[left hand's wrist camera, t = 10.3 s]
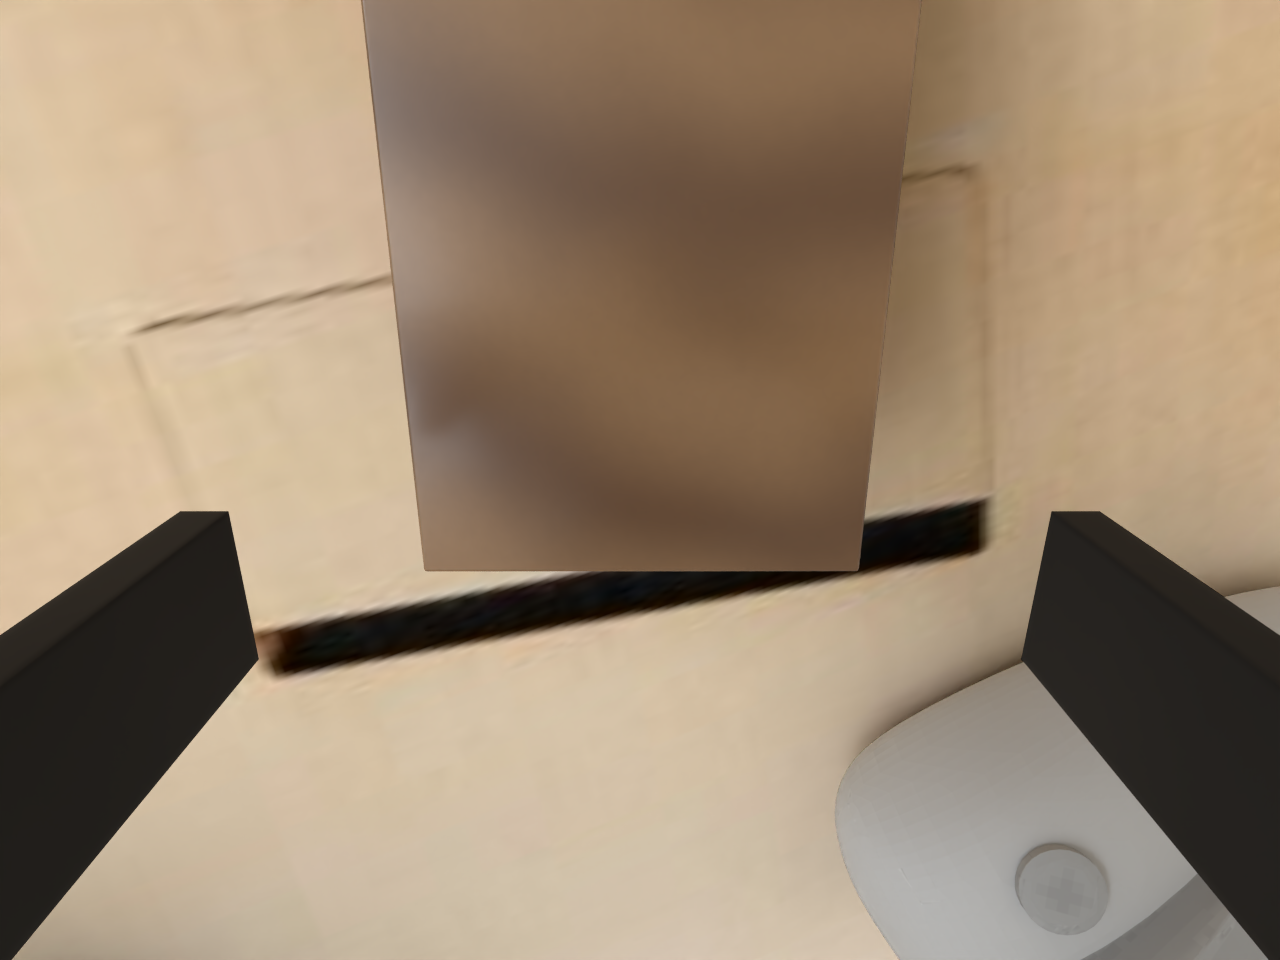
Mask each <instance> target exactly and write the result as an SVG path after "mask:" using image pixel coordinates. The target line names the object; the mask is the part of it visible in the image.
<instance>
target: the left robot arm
mask: <svg viewBox="0 0 1280 960" xmlns="http://www.w3.org/2000/svg"><path fill="white" fill-rule="evenodd" d="M258 659H259V658H258V653H257V648H256V644H255V639H254V634H253V629H252V624H251V619H250V614H249V610H248V605H247V600H246V595H245V590H244V585H243V580H242V575H241V571H240V566H239V561H238V556H237V551H236V546H235V541H234V537H233V532H232V527H231V522H230V517H229V512H228V511H180V512H179V513H177V514H176V515H174V516H173V517H172V518H170V519H169V520H167V521H166V522H164V523H163V524H161V525H160V526H158V527H157V528H156V529H154V530H153V531H151V532H150V533H148V534H147V535H145V536H144V537H142V538H141V539H140V540H138V541H137V542H135V543H134V544H132V545H131V546H129V547H128V548H126V549H125V550H123V551H122V552H121V553H119V554H118V555H116V556H115V557H113V558H112V559H110V560H109V561H107V562H106V563H105V564H103V565H102V566H100V567H99V568H97V569H96V570H94V571H93V572H91V573H90V574H89V575H87V576H86V577H84V578H83V579H81V580H80V581H78V582H77V583H75V584H74V585H73V586H71V587H70V588H68V589H67V590H65V591H64V592H62V593H61V594H59V595H58V596H57V597H55V598H54V599H52V600H51V601H49V602H48V603H46V604H45V605H43V606H42V607H41V608H39V609H38V610H36V611H35V612H33V613H32V614H30V615H29V616H27V617H26V618H25V619H23V620H22V621H20V622H19V623H17V624H16V625H14V626H13V627H11V628H10V629H9V630H7V631H6V632H4V633H3V634H1V635H0V960H12V959H13V957H14V956H15V955H16V954H17V952H18V951H19V950H20V949H21V948H22V946H23V945H24V944H25V943H26V942H27V940H28V939H29V938H30V937H31V935H32V934H33V933H34V932H35V931H36V929H37V928H38V927H39V926H40V925H41V923H42V922H43V921H44V920H45V918H46V917H47V916H48V915H49V914H50V912H51V911H52V910H53V909H54V907H55V906H56V905H57V904H58V903H59V901H60V900H61V899H62V898H63V897H64V895H65V894H66V893H67V892H68V890H69V889H70V888H71V887H72V886H73V884H74V883H75V882H76V881H77V880H78V878H79V877H80V876H81V875H82V873H83V872H84V871H85V870H86V869H87V867H88V866H89V865H90V864H91V862H92V861H93V860H94V859H95V858H96V856H97V855H98V854H99V853H100V852H101V850H102V849H103V848H104V847H105V845H106V844H107V843H108V842H109V841H110V839H111V838H112V837H113V836H114V835H115V833H116V832H117V831H118V830H119V828H120V827H121V826H122V825H123V824H124V822H125V821H126V820H127V819H128V818H129V816H130V815H131V814H132V813H133V811H134V810H135V809H136V808H137V807H138V805H139V804H140V803H141V802H142V800H143V799H144V798H145V797H146V796H147V794H148V793H149V792H150V791H151V790H152V788H153V787H154V786H155V785H156V783H157V782H158V781H159V780H160V779H161V777H162V776H163V775H164V774H165V773H166V771H167V770H168V769H169V768H170V766H171V765H172V764H173V763H174V762H175V760H176V759H177V758H178V757H179V755H180V754H181V753H182V752H183V751H184V749H185V748H186V747H187V746H188V745H189V743H190V742H191V741H192V740H193V738H194V737H195V736H196V735H197V734H198V732H199V731H200V730H201V729H202V728H203V726H204V725H205V724H206V723H207V721H208V720H209V719H210V718H211V717H212V715H213V714H214V713H215V712H216V710H217V709H218V708H219V707H220V706H221V704H222V703H223V702H224V701H225V700H226V698H227V697H228V696H229V695H230V693H231V692H232V691H233V690H234V689H235V687H236V686H237V685H238V684H239V683H240V681H241V680H242V679H243V678H244V676H245V675H246V674H247V673H248V672H249V670H250V669H251V668H252V667H253V666H254V664H255V663H256V662H257V661H258ZM1021 659H1022V661H1023V662H1024V663H1025V664H1026V666H1027V667H1028V668H1029V669H1030V670H1031V672H1032V673H1033V674H1034V675H1035V676H1036V678H1037V679H1038V680H1039V681H1040V683H1041V684H1042V685H1043V686H1044V687H1045V689H1046V690H1047V691H1048V692H1049V693H1050V695H1051V696H1052V697H1053V698H1054V700H1055V701H1056V702H1057V703H1058V704H1059V706H1060V707H1061V708H1062V709H1063V710H1064V712H1065V713H1066V714H1067V715H1068V717H1069V718H1070V719H1071V720H1072V721H1073V723H1074V724H1075V725H1076V726H1077V728H1078V729H1079V730H1080V731H1081V732H1082V734H1083V735H1084V736H1085V737H1086V738H1087V740H1088V741H1089V742H1090V743H1091V745H1092V746H1093V747H1094V748H1095V749H1096V751H1097V752H1098V753H1099V754H1100V755H1101V757H1102V758H1103V759H1104V760H1105V762H1106V763H1107V764H1108V765H1109V766H1110V768H1111V769H1112V770H1113V771H1114V773H1115V774H1116V775H1117V776H1118V777H1119V779H1120V780H1121V781H1122V782H1123V783H1124V785H1125V786H1126V787H1127V788H1128V790H1129V791H1130V792H1131V793H1132V794H1133V796H1134V797H1135V798H1136V799H1137V800H1138V802H1139V803H1140V804H1141V805H1142V807H1143V808H1144V809H1145V810H1146V811H1147V813H1148V814H1149V815H1150V816H1151V818H1152V819H1153V820H1154V821H1155V822H1156V824H1157V825H1158V826H1159V827H1160V828H1161V830H1162V831H1163V832H1164V833H1165V835H1166V836H1167V837H1168V838H1169V839H1170V841H1171V842H1172V843H1173V844H1174V845H1175V847H1176V848H1177V849H1178V850H1179V852H1180V853H1181V854H1182V855H1183V856H1184V858H1185V859H1186V860H1187V861H1188V862H1189V864H1190V865H1191V866H1192V867H1193V869H1194V870H1195V871H1196V872H1197V873H1198V875H1199V876H1200V877H1201V878H1202V880H1203V881H1204V882H1205V883H1206V884H1207V886H1208V887H1209V888H1210V889H1211V890H1212V892H1213V893H1214V894H1215V895H1216V897H1217V898H1218V899H1219V900H1220V901H1221V903H1222V904H1223V905H1224V906H1225V907H1226V909H1227V910H1228V911H1229V912H1230V914H1231V915H1232V916H1233V917H1234V918H1235V920H1236V921H1237V922H1238V923H1239V925H1240V926H1241V927H1242V928H1243V929H1244V931H1245V932H1246V933H1247V934H1248V935H1249V937H1250V938H1251V939H1252V940H1253V942H1254V943H1255V944H1256V945H1257V946H1258V948H1259V949H1260V950H1261V951H1262V952H1263V954H1264V955H1265V956H1266V957H1267V959H1268V960H1280V635H1279V634H1277V633H1276V632H1274V631H1273V630H1271V629H1270V628H1269V627H1267V626H1266V625H1264V624H1263V623H1261V622H1260V621H1258V620H1257V619H1255V618H1254V617H1253V616H1251V615H1250V614H1248V613H1247V612H1245V611H1244V610H1242V609H1241V608H1239V607H1238V606H1237V605H1235V604H1234V603H1232V602H1231V601H1229V600H1228V599H1226V598H1225V597H1223V596H1222V595H1221V594H1219V593H1218V592H1216V591H1215V590H1213V589H1212V588H1210V587H1209V586H1207V585H1206V584H1205V583H1203V582H1202V581H1200V580H1199V579H1197V578H1196V577H1194V576H1193V575H1191V574H1190V573H1189V572H1187V571H1186V570H1184V569H1183V568H1181V567H1180V566H1178V565H1177V564H1175V563H1174V562H1173V561H1171V560H1170V559H1168V558H1167V557H1165V556H1164V555H1162V554H1161V553H1159V552H1158V551H1157V550H1155V549H1154V548H1152V547H1151V546H1149V545H1148V544H1146V543H1145V542H1143V541H1142V540H1140V539H1139V538H1138V537H1136V536H1135V535H1133V534H1132V533H1130V532H1129V531H1127V530H1126V529H1124V528H1123V527H1122V526H1120V525H1119V524H1117V523H1116V522H1114V521H1113V520H1111V519H1110V518H1108V517H1107V516H1106V515H1104V514H1103V513H1101V512H1100V511H1052V512H1051V517H1050V522H1049V527H1048V532H1047V537H1046V541H1045V546H1044V551H1043V556H1042V561H1041V566H1040V571H1039V575H1038V580H1037V585H1036V590H1035V595H1034V600H1033V605H1032V610H1031V614H1030V619H1029V624H1028V629H1027V634H1026V639H1025V644H1024V648H1023V653H1022V658H1021Z"/></svg>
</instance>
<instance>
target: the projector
mask: <svg viewBox="0 0 1280 960" xmlns="http://www.w3.org/2000/svg"><path fill="white" fill-rule="evenodd" d="M1225 598H1226V599H1228V600H1229V601H1231V602H1232V603H1234V604H1235V605H1237V606H1238V607H1239V608H1241V609H1242V610H1244V611H1245V612H1247V613H1248V614H1250V615H1251V616H1253V617H1254V618H1255V619H1257V620H1258V621H1260V622H1261V623H1263V624H1264V625H1266V626H1267V627H1269V628H1270V629H1271V630H1273V631H1274V632H1276V633H1277V634H1279V635H1280V586H1277V587H1271V588H1265V589H1259V590H1254V591H1249V592H1243V593H1239V594H1235V595H1230V596H1226V597H1225ZM835 824H836V830H837V837H838V841H839V844H840V848H841V852H842V856H843V859H844V862H845V865H846V868H847V870H848V873H849V876H850V878H851V880H852V883H853V885H854V887H855V889H856V891H857V893H858V895H859V897H860V899H861V901H862V903H863V904H864V906H865V908H866V909H867V911H868V913H869V915H870V916H871V918H872V920H873V921H874V923H875V924H876V926H877V927H878V929H879V930H880V932H881V933H882V935H883V936H884V938H885V939H886V941H887V942H888V944H889V945H890V947H891V948H892V950H893V951H894V953H895V954H896V955H897V957H898V958H899V960H1268V959H1267V957H1266V956H1265V955H1264V954H1263V952H1262V951H1261V950H1260V949H1259V948H1258V946H1257V945H1256V944H1255V943H1254V942H1253V940H1252V939H1251V938H1250V937H1249V935H1248V934H1247V933H1246V932H1245V931H1244V929H1243V928H1242V927H1241V926H1240V925H1239V923H1238V922H1237V921H1236V920H1235V918H1234V917H1233V916H1232V915H1231V914H1230V912H1229V911H1228V910H1227V909H1226V907H1225V906H1224V905H1223V904H1222V903H1221V901H1220V900H1219V899H1218V898H1217V897H1216V895H1215V894H1214V893H1213V892H1212V890H1211V889H1210V888H1209V887H1208V886H1207V884H1206V883H1205V882H1204V881H1203V880H1202V878H1201V877H1200V876H1199V875H1198V873H1197V872H1196V871H1195V870H1194V869H1193V867H1192V866H1191V865H1190V864H1189V862H1188V861H1187V860H1186V859H1185V858H1184V856H1183V855H1182V854H1181V853H1180V852H1179V850H1178V849H1177V848H1176V847H1175V845H1174V844H1173V843H1172V842H1171V841H1170V839H1169V838H1168V837H1167V836H1166V835H1165V833H1164V832H1163V831H1162V830H1161V828H1160V827H1159V826H1158V825H1157V824H1156V822H1155V821H1154V820H1153V819H1152V818H1151V816H1150V815H1149V814H1148V813H1147V811H1146V810H1145V809H1144V808H1143V807H1142V805H1141V804H1140V803H1139V802H1138V800H1137V799H1136V798H1135V797H1134V796H1133V794H1132V793H1131V792H1130V791H1129V790H1128V788H1127V787H1126V786H1125V785H1124V783H1123V782H1122V781H1121V780H1120V779H1119V777H1118V776H1117V775H1116V774H1115V773H1114V771H1113V770H1112V769H1111V768H1110V766H1109V765H1108V764H1107V763H1106V762H1105V760H1104V759H1103V758H1102V757H1101V755H1100V754H1099V753H1098V752H1097V751H1096V749H1095V748H1094V747H1093V746H1092V745H1091V743H1090V742H1089V741H1088V740H1087V738H1086V737H1085V736H1084V735H1083V734H1082V732H1081V731H1080V730H1079V729H1078V728H1077V726H1076V725H1075V724H1074V723H1073V721H1072V720H1071V719H1070V718H1069V717H1068V715H1067V714H1066V713H1065V712H1064V710H1063V709H1062V708H1061V707H1060V706H1059V704H1058V703H1057V702H1056V701H1055V700H1054V698H1053V697H1052V696H1051V695H1050V693H1049V692H1048V691H1047V690H1046V689H1045V687H1044V686H1043V685H1042V684H1041V683H1040V681H1039V680H1038V679H1037V678H1036V676H1035V675H1034V674H1033V673H1032V672H1031V670H1030V669H1029V668H1028V667H1027V666H1026V664H1025V663H1024V662H1022V663H1020V664H1018V665H1015V666H1013V667H1011V668H1008V669H1006V670H1004V671H1001V672H999V673H997V674H995V675H992V676H990V677H988V678H986V679H984V680H982V681H980V682H978V683H975V684H973V685H971V686H969V687H967V688H965V689H963V690H961V691H959V692H957V693H955V694H953V695H951V696H949V697H947V698H945V699H943V700H941V701H939V702H937V703H935V704H933V705H931V706H929V707H927V708H926V709H924V710H922V711H920V712H918V713H917V714H915V715H913V716H911V717H910V718H908V719H906V720H904V721H903V722H901V723H899V724H898V725H896V726H895V727H893V728H892V729H890V730H889V731H887V732H886V733H884V734H883V735H881V736H880V737H878V738H877V739H876V740H875V741H873V742H872V743H871V744H870V745H868V746H867V747H866V748H865V749H864V750H863V751H862V752H861V753H860V754H859V755H858V756H857V757H856V758H855V759H854V761H853V762H852V763H851V765H850V766H849V767H848V769H847V771H846V773H845V775H844V777H843V778H842V780H841V783H840V786H839V789H838V792H837V797H836V805H835Z"/></svg>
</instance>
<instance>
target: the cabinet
mask: <svg viewBox="0 0 1280 960" xmlns="http://www.w3.org/2000/svg"><path fill="white" fill-rule="evenodd" d="M921 2H922V0H361V5H362V13H363V22H364V31H365V40H366V49H367V58H368V67H369V76H370V85H371V94H372V103H373V112H374V121H375V130H376V139H377V148H378V157H379V166H380V175H381V184H382V193H383V202H384V211H385V220H386V229H387V238H388V247H389V256H390V265H391V274H392V283H393V292H394V301H395V310H396V319H397V328H398V337H399V346H400V355H401V364H402V373H403V382H404V391H405V400H406V409H407V418H408V427H409V436H410V445H411V454H412V463H413V472H414V481H415V490H416V499H417V508H418V517H419V526H420V535H421V544H422V553H423V562H424V569H425V571H857V570H858V569H859V561H860V552H861V543H862V534H863V525H864V516H865V507H866V498H867V489H868V480H869V471H870V462H871V453H872V444H873V435H874V426H875V417H876V408H877V399H878V390H879V381H880V372H881V363H882V354H883V345H884V336H885V327H886V318H887V309H888V300H889V291H890V282H891V273H892V264H893V255H894V246H895V237H896V228H897V219H898V210H899V201H900V192H901V183H902V174H903V165H904V156H905V147H906V138H907V129H908V120H909V111H910V102H911V93H912V84H913V75H914V66H915V56H916V47H917V38H918V29H919V20H920V11H921Z"/></svg>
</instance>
